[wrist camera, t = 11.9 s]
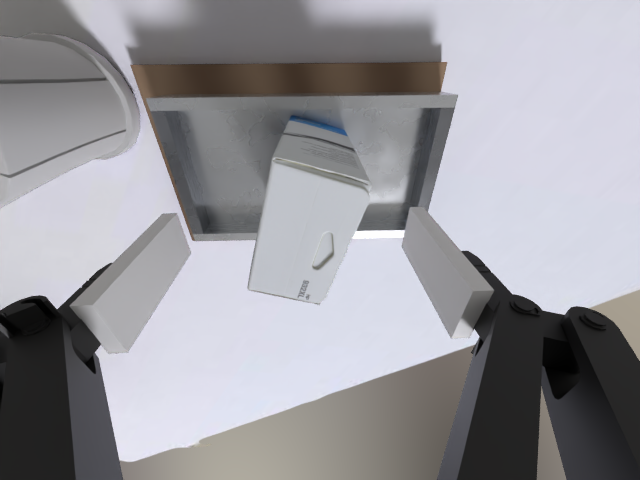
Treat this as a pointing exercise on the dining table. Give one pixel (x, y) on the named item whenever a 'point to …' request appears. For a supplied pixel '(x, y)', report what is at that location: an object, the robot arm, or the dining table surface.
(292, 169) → the ink box
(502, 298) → the robot arm
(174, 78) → the panel
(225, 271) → the dining table surface
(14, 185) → the cup
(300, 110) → the metal serving tray
